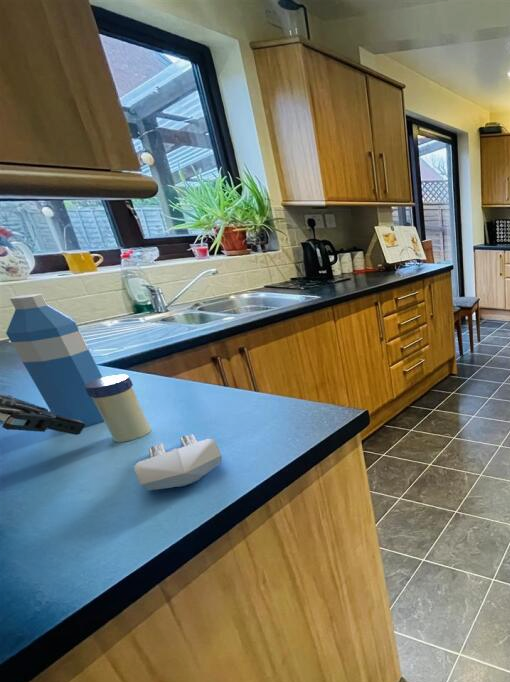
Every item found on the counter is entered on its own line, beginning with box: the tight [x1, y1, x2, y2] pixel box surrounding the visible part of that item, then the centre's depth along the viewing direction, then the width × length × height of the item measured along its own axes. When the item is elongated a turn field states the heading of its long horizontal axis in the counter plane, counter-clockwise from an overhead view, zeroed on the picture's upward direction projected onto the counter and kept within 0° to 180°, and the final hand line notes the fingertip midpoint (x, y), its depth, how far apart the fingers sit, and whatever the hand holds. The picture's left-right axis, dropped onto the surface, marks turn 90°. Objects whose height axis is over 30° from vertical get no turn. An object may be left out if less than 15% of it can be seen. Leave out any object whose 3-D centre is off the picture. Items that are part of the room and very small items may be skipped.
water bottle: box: [5, 293, 105, 428], centre depth 77 cm, size 9×9×25 cm
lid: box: [84, 374, 134, 397], centre depth 71 cm, size 6×6×2 cm
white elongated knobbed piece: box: [133, 433, 222, 491], centre depth 64 cm, size 10×20×5 cm, turn 45°
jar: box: [92, 386, 152, 443], centre depth 73 cm, size 5×5×10 cm
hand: (81, 428), depth 70 cm, fingers closed
